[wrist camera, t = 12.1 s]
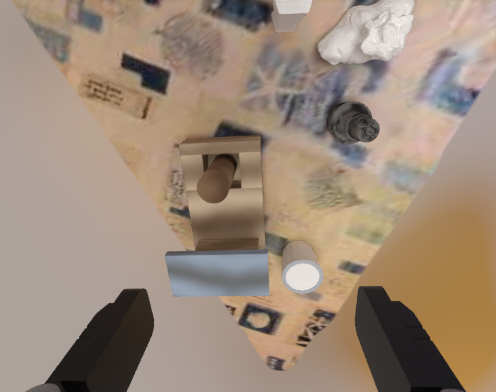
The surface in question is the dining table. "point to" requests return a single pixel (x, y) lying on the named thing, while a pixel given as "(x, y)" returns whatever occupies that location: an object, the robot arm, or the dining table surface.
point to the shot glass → (300, 268)
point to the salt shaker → (352, 123)
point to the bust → (369, 33)
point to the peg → (217, 179)
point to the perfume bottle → (289, 14)
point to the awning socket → (223, 224)
